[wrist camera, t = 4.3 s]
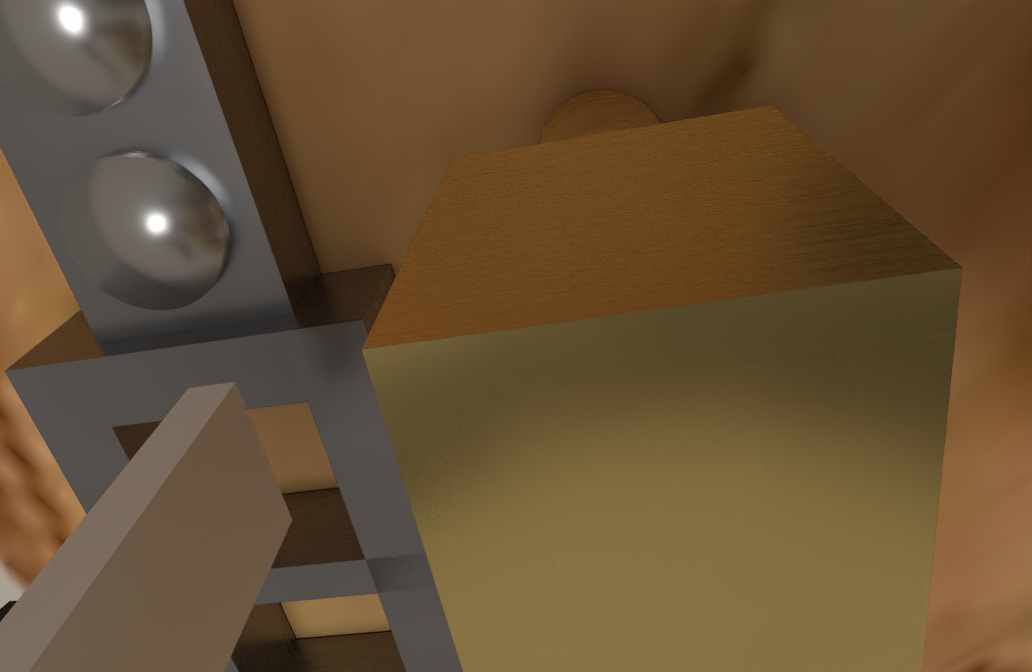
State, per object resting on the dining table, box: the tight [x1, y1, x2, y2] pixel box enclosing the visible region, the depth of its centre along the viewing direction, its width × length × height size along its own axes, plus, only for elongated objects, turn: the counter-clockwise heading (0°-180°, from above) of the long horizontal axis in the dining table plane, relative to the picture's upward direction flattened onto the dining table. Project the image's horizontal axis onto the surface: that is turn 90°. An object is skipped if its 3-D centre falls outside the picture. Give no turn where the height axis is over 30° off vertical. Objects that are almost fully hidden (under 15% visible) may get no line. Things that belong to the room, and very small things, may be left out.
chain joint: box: [0, 0, 463, 672], centre depth 17 cm, size 24×7×2 cm, turn 10°
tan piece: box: [362, 90, 962, 672], centre depth 11 cm, size 9×3×10 cm, turn 10°
